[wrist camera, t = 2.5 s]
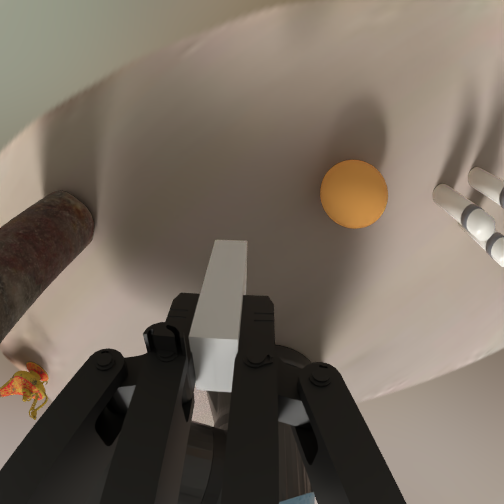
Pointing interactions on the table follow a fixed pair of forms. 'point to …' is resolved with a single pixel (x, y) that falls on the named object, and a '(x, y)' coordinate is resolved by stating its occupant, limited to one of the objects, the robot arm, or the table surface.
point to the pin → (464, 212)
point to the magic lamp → (27, 385)
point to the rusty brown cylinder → (39, 251)
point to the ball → (354, 194)
